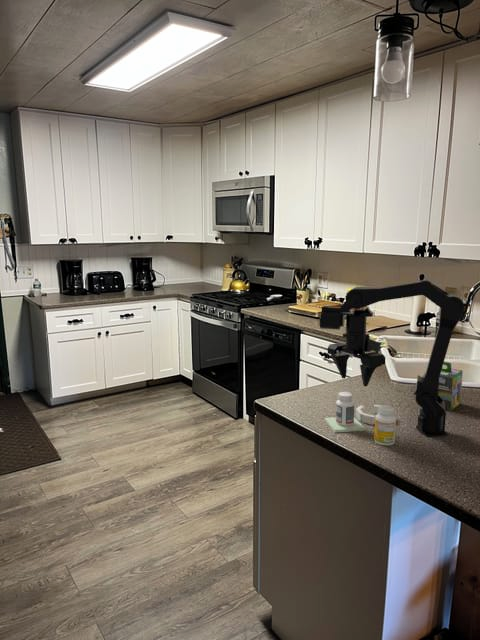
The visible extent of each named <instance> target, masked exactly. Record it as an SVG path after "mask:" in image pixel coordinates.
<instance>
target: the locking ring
mask: <svg viewBox="0 0 480 640" xmlns="http://www.w3.org/2000/svg"><path fill="white" fill-rule="evenodd" d="M379 406H381V405H380V404H373V412H372V413H373V414H376V415H377V414H378V413H379V412H378V409H379ZM376 415H372V414H369V413H365V405H359V406H358V407H356V408H355V418H356V419H357V420H358V421H359V422H361V423H363V424H367V425H372V426H373V425H374V426H375V417H376Z"/></svg>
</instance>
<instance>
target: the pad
mask: <svg viewBox="0 0 480 640" xmlns="http://www.w3.org/2000/svg"><path fill="white" fill-rule="evenodd" d="M324 422H326V424H327V425H328V427H329V428H330V429H331V430H332V431H333V433H336V434H337V433H347V432H348V433H350V432H364V431H366V427H364V425H363V424H361V421H359V420H358V419H357V418H356V416H354V424H352V425H350V426H343V425H339V424H337V423H336V416H335V417H325V418H324Z"/></svg>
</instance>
